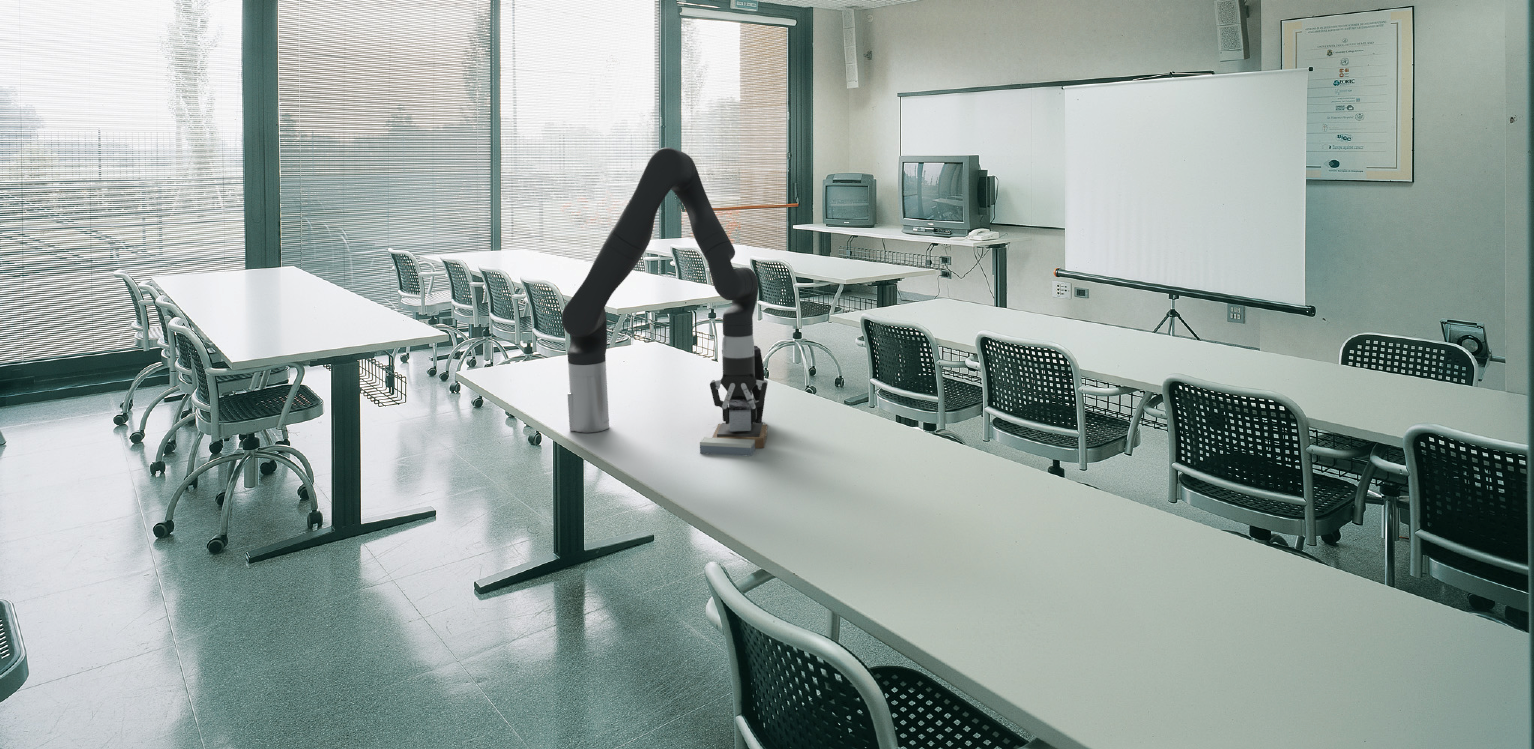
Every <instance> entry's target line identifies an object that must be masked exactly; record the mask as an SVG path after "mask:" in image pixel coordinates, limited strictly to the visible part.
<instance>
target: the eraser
mask: <svg viewBox="0 0 1534 749" xmlns="http://www.w3.org/2000/svg"><path fill="white" fill-rule="evenodd" d="M755 451H756V448H755V440H751V439H730V438H712V437H710V436H709V437H707V436H704V437H703V438H702V439H701V440H700V441H699V454H704V455H705V454H706V453H708V454H706V455H722V456H723V455H726V456H728V455H729V456H743V455H747V457H749V456H750V457H752V455H753V454H754V453H755ZM753 452H754V453H753Z"/></svg>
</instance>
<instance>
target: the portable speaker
mask: <svg viewBox="0 0 1534 749" xmlns="http://www.w3.org/2000/svg"><path fill="white" fill-rule="evenodd" d="M754 366H755V377H756V379H757V380H761V381H764V380H765V368H764V367H765V366H764V362H763V357H762V351H761V348H760V347H759V346H758V345H754ZM751 391H752V393H753V396H754V399H755V401H758V400H759V397H760V392H761V390H759V389H758V385H757V384H756V385H755V386H754V387H753V389H752V390H751ZM730 400H747V399H746V396H731V399H730ZM765 400H766V399H764V402H765ZM764 405H765V403H764V404H763V406H761V407H757V408H756V414H757V418H756V421H755V422H754V423H763V414H764V408H765V406H764ZM750 408H751V407H750Z"/></svg>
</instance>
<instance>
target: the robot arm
mask: <svg viewBox="0 0 1534 749" xmlns="http://www.w3.org/2000/svg"><path fill="white" fill-rule="evenodd" d="M670 191H672V192H673V193H674V195H676V197H677V198H678V200H679V201H680V203H681V204H682V205H683V208H684V209H685V212H686V214H687V216H688V220H689V224H690V227H691V228H690V229H691V232H692V235H693V237H694V240H695V242H696V244H697V245H698V247H699V249H700V252H701V253H702V255H703V256H704V258H705V260H706V262H707V264H708V265H707V266H708V269H709V270H708V271H709V273H710V278H711V281H712V284H713V287H714V289H715V291H716V292H717V294H718V295H719V296H720V297H721V298H722V299H723V300H725V301H731V305H730V307H729V308H728V309H726V310H725V311H724V312H723V315H722V343H721V355H722V358H721V362H722V376H721V379H717V380H715V379H712V380H711V381H710V383H709V387H710V391H711V396H712V399H713V404H714V406H715V407H719V408H721V409H722V422H723V423H726V424H729V401H730V399H731V396H746V399H747V401H748V402H749V405H750V407H751V424H753V423H756V422H755V421H756V418H757V414H756V408H757V407H761V406H763V404H764V405H765V401H764V399H765V398H766V394H767V388H768V383H769V382H768V380H766V379H764V381H761V380H757V379H756V377H755V366H754V346H755V339H754V320H753V316H754V312H755V308H756V304H757V300H758V293H759V282H758V281H759V280H758V277H757V275H756V273H755V271H754V270H752V269H751V268H750V267H746V266H745V267H737V268H734V266H733V264H732V261H731V260H733V259H734V257H735V255H736V250H735V247H734V244H733V243H732V242H731V239H730V238H729V236H728V234H727V232H726V231H725V229H724V228H723V226H722V224H721V222H720V220H719V218H718V217H717V215H716V213H715V211H714V209H713V207H712V205H711V202H710V200H709V197H708V195H707V193H706V191H705V188H704V184H703V183H702V180H701V177H700V174H699V171H698V169H697V165H696V164H695V162H694V160H693V158H692V157H691V156H690V155H689V154H687V153H686V152H683V151H680V150H678V149H676V148H672V147H670V146H669V147H662V148H659V149H657V150H656V151H655V152H654V153H653V154H652V155H651V156H650V158H649V160H648V162H647V164H646V165H645V168H644V170H643V172H642V175H641V177H640V180H639V181H638V183H637V185H636V188H635V189H634V192H633V194H632V196H631V197H630V199H629V200H628V203H627V204H626V206H625V207H624V209H623V211H622V212H621V214H620V216H619V218H618V219H617V221H616V223H615V224H614V226H613V227H612V229H611V231H610V232H609V233H608V236H607V238H606V239H605V241H604V243H603V244H602V246H601V248H600V250H599V252H598V254H597V256H596V258H595V259H594V261H593V264H592V265H591V267H590V269H589V272H588V273H587V275H586V277H585V279H584V280H583V282H582V283H581V284H580V286H579V287H578V289H577V290H576V292H575V293H574V294H573V296H572V297H571V298H570V299H569V301H568V303H566V305H565V306H564V308H563V309H562V313H561V324H562V327H563V329H564V330H565V332H566V333H567V334H568V335H570V343H569V348H568V350H567V364H568V381H569V382H568V383H569V384H568V385H569V392H568V394H567V404H568V405H567V407H568V408H567V409H568V418H569V419H568V422H569V423H568V424H569V431H570V432H572V431H573V432H578V433H587V434H589V433H598V432H602V431H605V430H607V429H609V428H610V417H609V398H608V381H607V380H608V379H607V377H608V376H607V362H606V361H607V360H606V358H607V357H606V353H607V348H608V324H607V323H608V322H607V320H608V319H607V313H606V309H605V307H606V305H607V304H608V302H609V300H610V299H611V297H612V295H613V294H614V292H616V289H617V288H618V287H619V286H620V285H621V284H622V283H623V282H624V281H625V280H626V278H628V276H629V275H630V274H631V272H632V271H633V269H635V267H636V266H637V264H638V263H639V262H640V260H641V259H642V257H643V255H644V253H645V251H646V250H647V248H648V246H649V245H650V241H651V239H652V234H653V232H654V224H655V220H656V216H657V213H658V210H659V208H660V207H661V205H662V203H663V201H664V200H665V198H666V196H667V195H668V194H669V192H670ZM756 384H757V385H758V389H759V390H761V392H760V397H759V400H758V401H755V399H754V396H753V393H752V391H751V390H752V389H753V387H754V386H755V385H756ZM721 385H722V387H723V388H724V389H725V391H726V394H725V398H724V401H723V400H721V397H720V393H719V389H720V388H721ZM765 400H766V399H765Z"/></svg>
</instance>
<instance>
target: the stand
mask: <svg viewBox="0 0 1534 749" xmlns="http://www.w3.org/2000/svg"><path fill="white" fill-rule="evenodd" d="M767 436H768V424H765V423H763V422H762V423H756V422H754V423H753V424H751V431H730V428H729V424H726V422H721V423H719V424H718V423H717V426H716V428H715V431H714V432H713V435H712V436H711V438H730V439H751V440H755V449H764V447H765V444H766V440H767Z"/></svg>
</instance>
